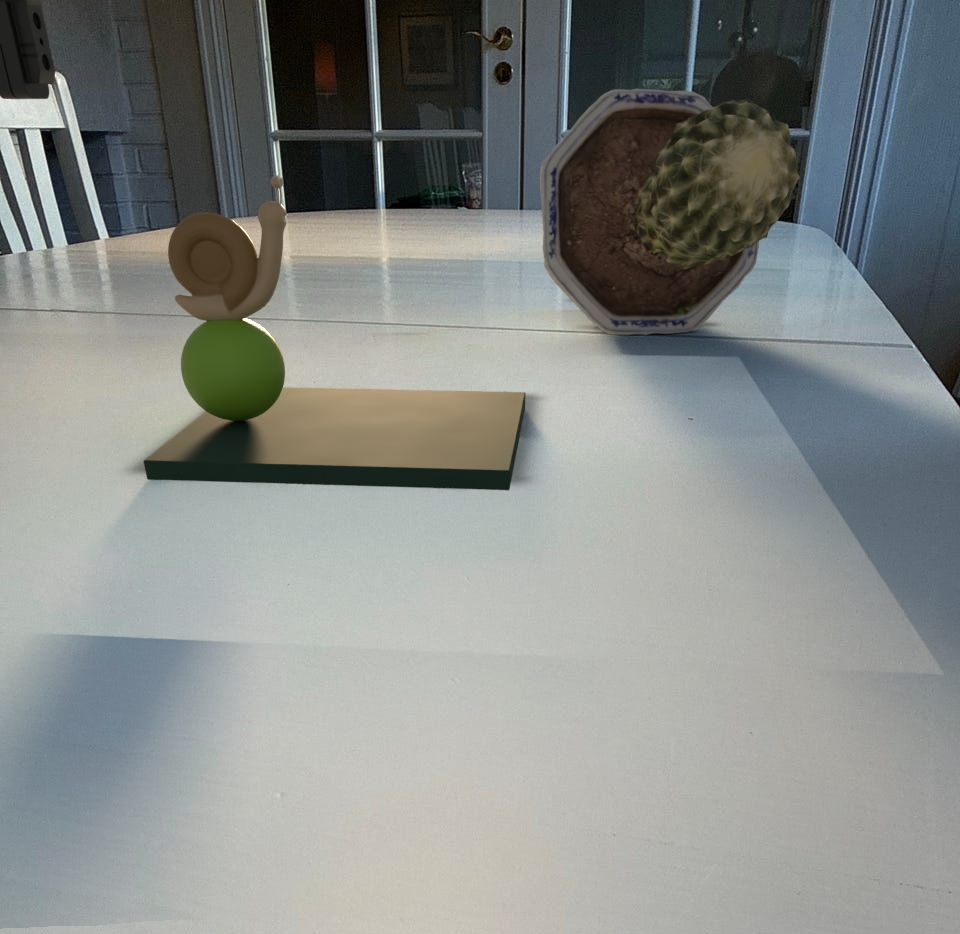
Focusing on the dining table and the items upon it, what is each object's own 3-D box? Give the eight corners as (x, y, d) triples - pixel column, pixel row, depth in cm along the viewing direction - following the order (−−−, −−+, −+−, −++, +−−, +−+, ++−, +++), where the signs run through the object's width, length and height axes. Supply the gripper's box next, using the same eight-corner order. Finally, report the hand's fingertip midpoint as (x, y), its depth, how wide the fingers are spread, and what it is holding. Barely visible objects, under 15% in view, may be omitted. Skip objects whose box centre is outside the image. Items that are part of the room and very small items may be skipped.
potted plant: (510, 129, 78) (614, -15, 50) (705, 138, 81) (908, 7, 53) (508, 340, 83) (601, 319, 55) (692, 342, 86) (871, 323, 58)
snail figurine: (300, 432, 48) (273, 178, 42) (178, 434, 47) (133, 179, 41) (314, 404, 52) (291, 172, 46) (203, 405, 52) (165, 173, 46)
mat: (146, 479, 44) (142, 460, 44) (239, 402, 56) (237, 386, 56) (509, 490, 43) (509, 470, 42) (525, 408, 55) (525, 391, 54)
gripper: (113, -397, 37) (188, 98, 45) (-187, -376, 38) (-58, 102, 47) (14, -506, 30) (124, 95, 39) (-344, -477, 31) (-160, 100, 40)
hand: (24, 98), depth 43 cm, fingers closed
